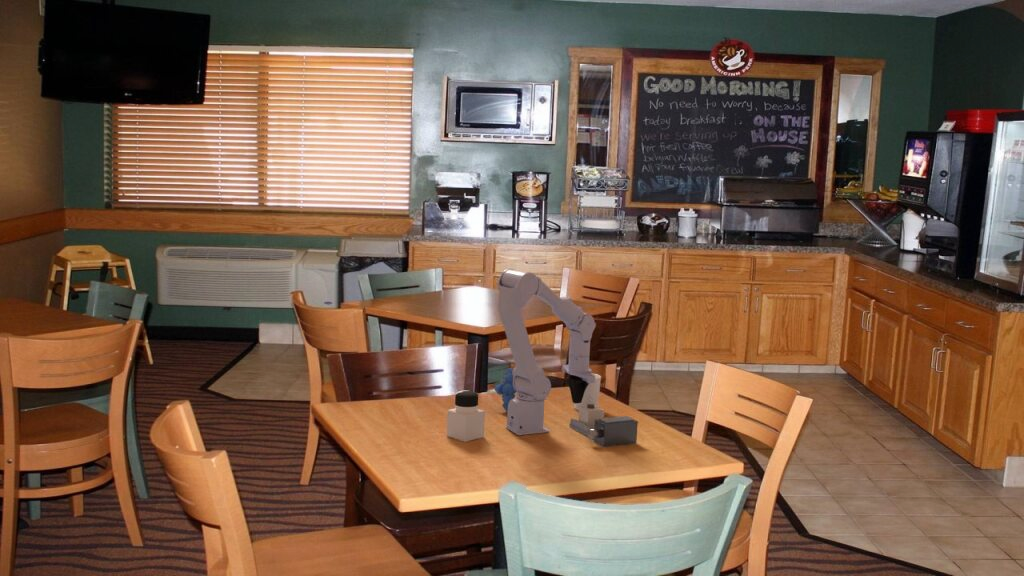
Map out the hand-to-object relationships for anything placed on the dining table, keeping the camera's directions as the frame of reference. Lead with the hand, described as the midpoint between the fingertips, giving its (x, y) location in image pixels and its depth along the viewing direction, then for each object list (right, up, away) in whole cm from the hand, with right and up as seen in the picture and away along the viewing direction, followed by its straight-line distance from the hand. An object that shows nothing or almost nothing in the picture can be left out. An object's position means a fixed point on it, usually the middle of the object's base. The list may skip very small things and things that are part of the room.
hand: (576, 402), depth 270 cm
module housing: (+4, -7, -12) cm, 14 cm away
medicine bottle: (-30, -7, -17) cm, 36 cm away
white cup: (+4, -4, +15) cm, 16 cm away
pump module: (+3, -6, -6) cm, 9 cm away
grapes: (-20, -3, +11) cm, 23 cm away
